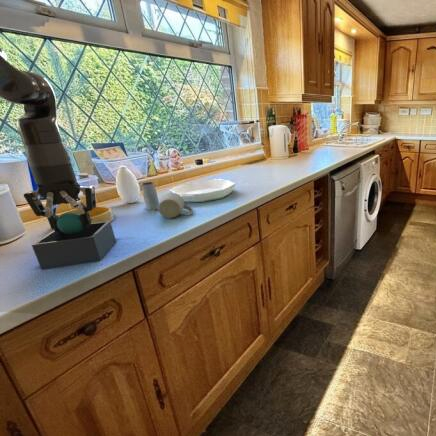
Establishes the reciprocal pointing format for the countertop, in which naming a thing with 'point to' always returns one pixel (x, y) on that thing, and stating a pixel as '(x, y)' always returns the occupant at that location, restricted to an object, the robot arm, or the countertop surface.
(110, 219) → the bowl
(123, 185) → the sauce bottle
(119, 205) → the countertop surface
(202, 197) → the white oval serving dish
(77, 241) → the bin
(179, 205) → the ceramic mug
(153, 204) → the grey cylinder
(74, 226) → the toy ball
